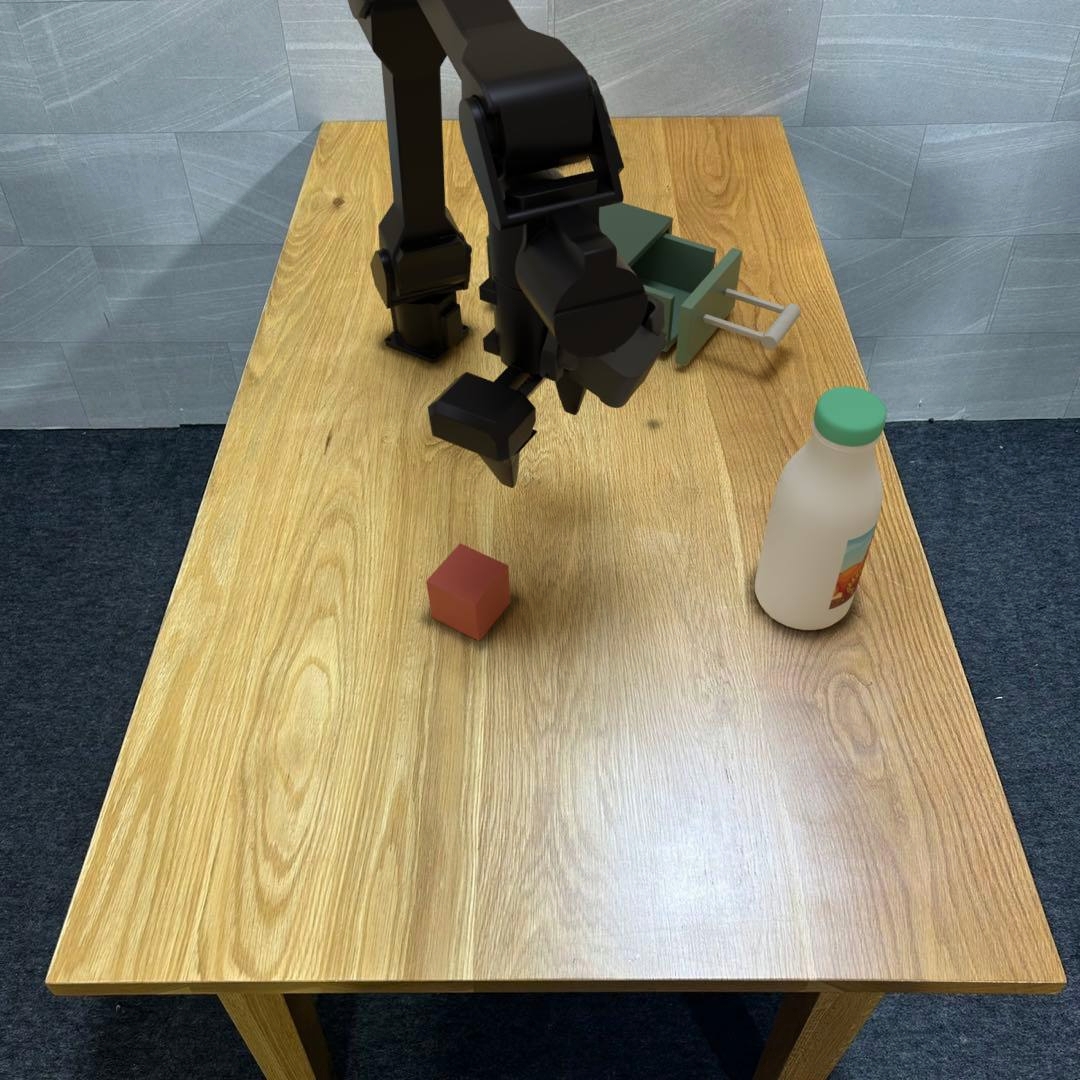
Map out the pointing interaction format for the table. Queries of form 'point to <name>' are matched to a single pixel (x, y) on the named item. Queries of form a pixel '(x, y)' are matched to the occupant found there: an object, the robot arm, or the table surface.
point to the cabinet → (627, 230)
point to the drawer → (702, 295)
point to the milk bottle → (824, 514)
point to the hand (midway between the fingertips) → (540, 447)
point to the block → (469, 591)
